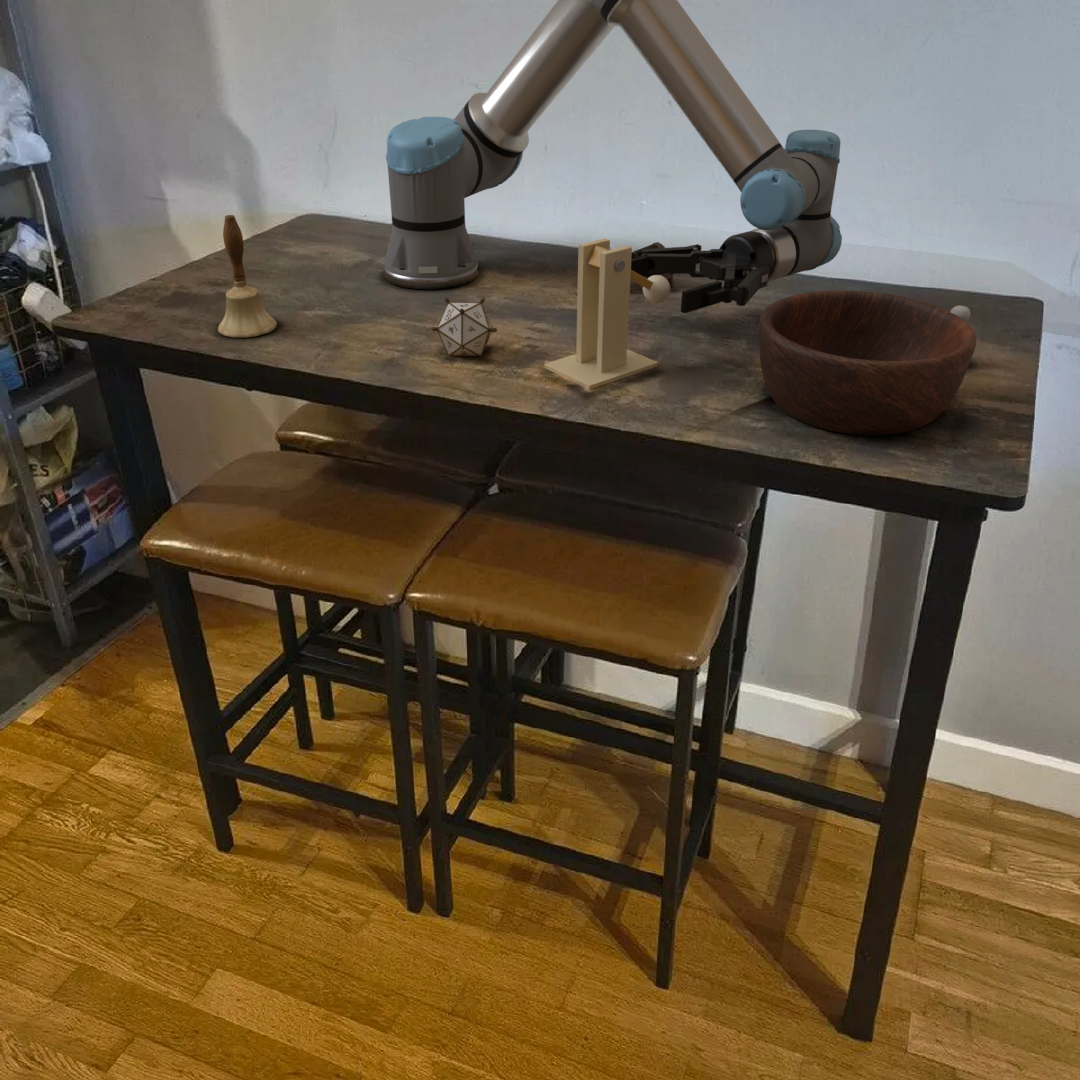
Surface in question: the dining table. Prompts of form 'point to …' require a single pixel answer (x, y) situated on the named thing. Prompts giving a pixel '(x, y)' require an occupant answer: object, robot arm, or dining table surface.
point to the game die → (464, 328)
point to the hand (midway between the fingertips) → (645, 288)
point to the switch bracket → (602, 321)
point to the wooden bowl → (863, 360)
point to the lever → (640, 280)
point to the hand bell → (241, 293)
